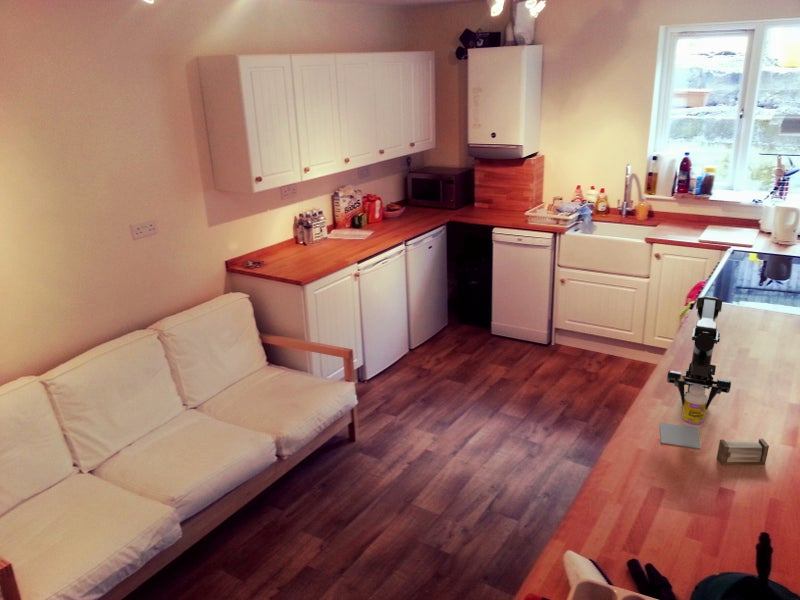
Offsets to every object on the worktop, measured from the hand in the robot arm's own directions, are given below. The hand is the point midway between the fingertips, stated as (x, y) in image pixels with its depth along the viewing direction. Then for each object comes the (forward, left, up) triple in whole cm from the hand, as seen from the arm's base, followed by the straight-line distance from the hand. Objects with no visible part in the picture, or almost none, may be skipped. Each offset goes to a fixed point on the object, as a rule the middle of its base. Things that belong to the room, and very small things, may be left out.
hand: (694, 406), depth 210 cm
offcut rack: (+7, +15, -13) cm, 21 cm away
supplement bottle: (-1, 0, -7) cm, 7 cm away
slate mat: (-2, -3, -13) cm, 14 cm away
